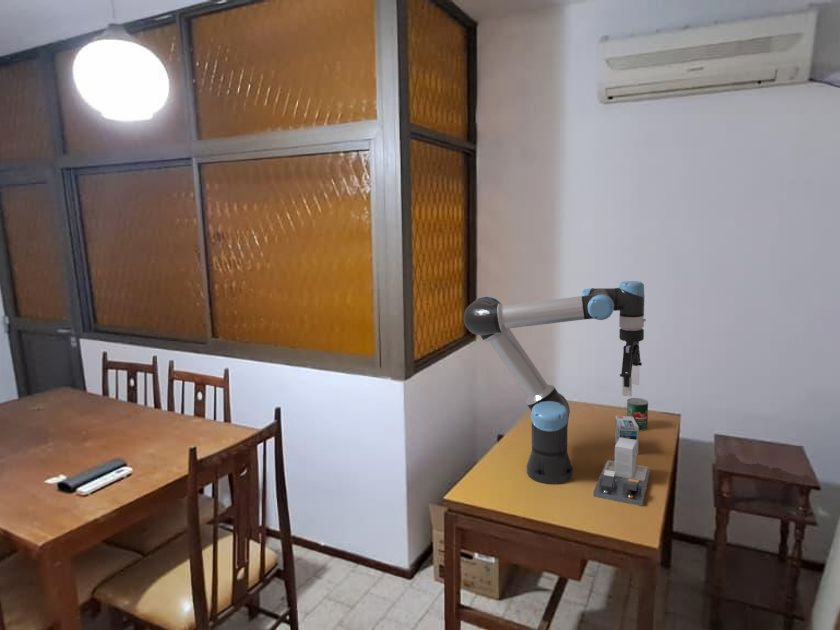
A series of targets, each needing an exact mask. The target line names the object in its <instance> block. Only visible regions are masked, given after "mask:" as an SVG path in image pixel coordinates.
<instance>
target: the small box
mask: <svg viewBox="0 0 840 630" xmlns="http://www.w3.org/2000/svg"><path fill="white" fill-rule="evenodd" d="M637 456H638V455H637V440H633V439H627V438H621V437H620V438H619V439H618V441H617V443H615V446H614V461H615V465H614V471H615V475H620V476H626V477H631V478H633V475H634V473H635V470H636V465H637Z"/></svg>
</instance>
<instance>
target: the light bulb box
mask: <svg viewBox="0 0 840 630" xmlns="http://www.w3.org/2000/svg"><path fill="white" fill-rule="evenodd" d="M614 417H615V418H614V420H615V423H614V424H615V425H614V427H615V428H614V429H615V431H614V432H615V435H614V438H615V439H614V443H615V444H616V443H617V441H618V439H619V438H620V437H621V438H627V439H633V440H637V456H638V455H639V439H640V437H639V432H640V431H639V426H638V425H637V423H636V421H635V419H634V417H629V416H627V415H615V416H614Z"/></svg>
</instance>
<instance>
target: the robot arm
mask: <svg viewBox="0 0 840 630" xmlns="http://www.w3.org/2000/svg"><path fill="white" fill-rule="evenodd" d="M614 311H615V312H616V311H619V319H618V321H619V323H618V325H619V333H618V334H619V336H618V337H619V340H620V341H623V342H625V345H624V346H623V348H622V349H623V350H622V351H623V352H622V353H623V354H622V363H621V365H622V366H621V373H619V377H621V378H622V396H623V397H632V395H633V394H632V393H633V392H632V390H633V388H632V386H633V385H636V386H637V385H638V386H639V385H640V367H641V366H642V365H643V363H642V362H641V352H640V342H642V341H643V340H644V339H645V338H644V337H645V330H644V329H643V328H644V327H645V326H644V325H645V324H644V323H645V322H646V321H647V320H646V318H644V317H645V285H644V283H643V282H641V281H637V280H629V281H627V280H626V281H625V280H624V281H621V282H620V283H619V286H618V287H614V288H613V287H612V288H610V287H609V288H604V287H603V288H595V287H591V288H584V289H582V291H581V295H580V296H573V297H572V296H571V297H564V298H563V297H562V298H556V299H548V300H541V301H533V302H525V303H518V304H517V303H515V304H509V305H503V304H502V303H501V302H500V301H499V300H498V299H497V298H495V297H493V296H486V295H485V296H482V297H478V298H477V299H475V300H474V301H473V302H472V303H470V304H468V306H467V307H466V308H465V311H464V313H463V324H464V326H465V327H466V329H467V330H468V331H469V332H470V333H472V334H473V335H476V336H479V337H480V338H481V339H482V341H483V342H488V343H490V345H491V346H492V348H493V349H494V350H495V353H497V355H498V357H499V358H500V360H501V361H502V362H503V365H505V367H506V368H507V370H508V371H509V373H510V375H511V376H512V377H513V379H514V381H516V383H517V385H518V386H519V387H520V389H521V391H522V392H523V394H524V395H525V397H526V401H525V404H526V405H527V407H528V409H529V410H530V412H531V413H530V421H531V451H530V454H529V456H528V461H527V463H526V475H527V474H528V475H527V476H528V477H529V478H530V479H532V480H534V481H536V482H538V483H543V484H552V485H554V484H555V485H556V484H562V483H563V484H564V483H566V482H568V481H570V480H571V479H572V478H573V476H574V475H573V473H574V470H573V465H572V462H571V459H570V455H569V454H568V429H569V427H568V426H569V419H570V412H571V410H570V405H569V402H568V401H567V399H566V398H565V396H564V395H563V394H561V393H559V392H558V390H557V389H556V387H555V386H554V385H552V384H548V383H547V382H546V380H545V379H544V377H543V376H542V375H541V372H539V369H537V366H535V364H534V363H533V361H532V360H531V358H530V357H529V355H528V353H527V352H526V351H525V349H524V348H523V346H522V345H521V343H520V341H518V339H517V337H516V336H515V334H514V333H513V332H512V330H511V329H516V328H523V327H524V328H525V327H533V326H539V325H549V324H557V323H558V324H559V323H565V322H566V323H567V322H575V321H584V320H597V321H604V320H607V319H609V318H610V317H611V315H612V314H613V313H614Z"/></svg>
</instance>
